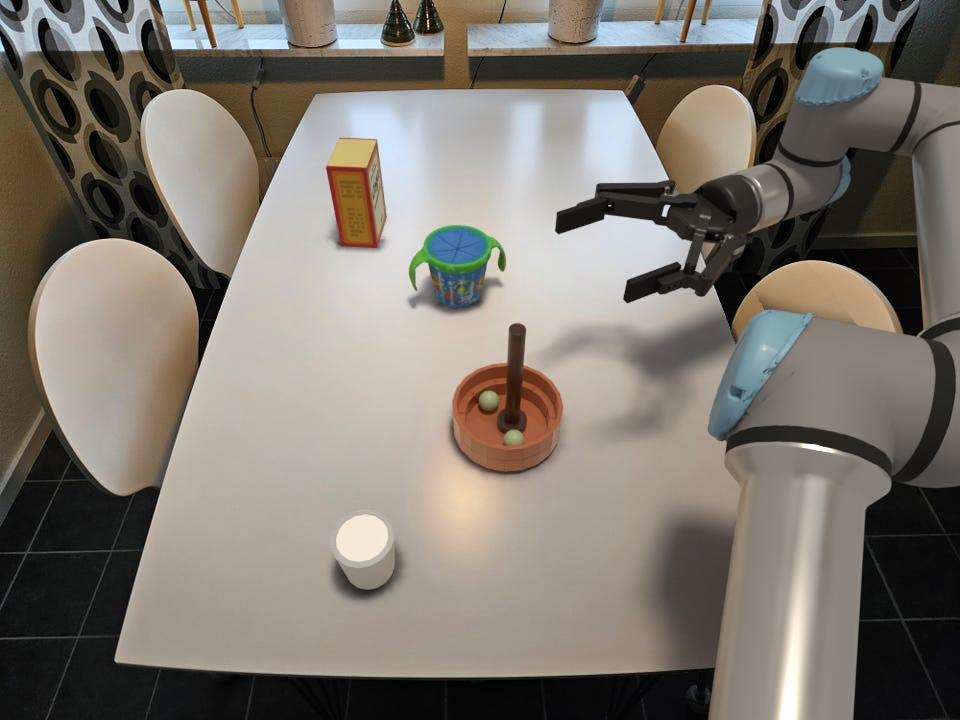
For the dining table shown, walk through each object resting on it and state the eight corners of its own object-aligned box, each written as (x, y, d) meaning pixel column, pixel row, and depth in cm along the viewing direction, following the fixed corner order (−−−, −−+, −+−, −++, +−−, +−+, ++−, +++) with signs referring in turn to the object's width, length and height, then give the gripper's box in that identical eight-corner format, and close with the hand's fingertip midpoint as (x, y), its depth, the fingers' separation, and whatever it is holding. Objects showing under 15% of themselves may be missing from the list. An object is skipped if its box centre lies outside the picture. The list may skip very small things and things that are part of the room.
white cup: (375, 527, 77) (367, 497, 72) (412, 566, 74) (407, 537, 69) (328, 565, 74) (316, 536, 69) (365, 607, 71) (355, 580, 66)
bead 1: (500, 413, 88) (486, 409, 86) (486, 411, 90) (472, 407, 88) (505, 393, 88) (491, 389, 86) (491, 392, 90) (477, 387, 88)
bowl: (528, 491, 81) (530, 467, 77) (433, 444, 86) (431, 419, 82) (576, 414, 89) (580, 388, 85) (487, 375, 94) (487, 349, 90)
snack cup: (496, 267, 111) (498, 217, 103) (513, 308, 104) (515, 257, 96) (406, 281, 108) (401, 231, 101) (417, 323, 101) (412, 273, 94)
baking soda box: (352, 215, 121) (338, 135, 109) (386, 216, 121) (376, 137, 109) (341, 246, 115) (325, 165, 103) (377, 247, 114) (365, 166, 103)
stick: (513, 441, 85) (519, 346, 72) (490, 424, 87) (492, 329, 74) (532, 423, 87) (542, 328, 74) (510, 407, 89) (515, 312, 76)
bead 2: (511, 458, 84) (499, 446, 82) (510, 443, 86) (498, 430, 85) (529, 450, 83) (517, 437, 81) (528, 435, 85) (516, 422, 84)
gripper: (804, 289, 73) (653, 351, 67) (665, 182, 88) (531, 224, 82) (830, 234, 68) (669, 297, 61) (677, 130, 83) (534, 171, 76)
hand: (589, 255), depth 71 cm, fingers open, 13 cm apart
